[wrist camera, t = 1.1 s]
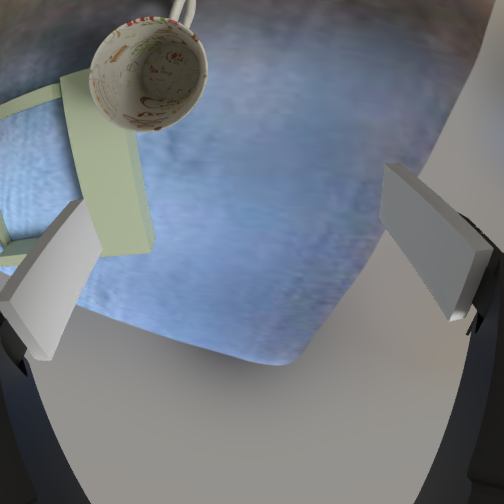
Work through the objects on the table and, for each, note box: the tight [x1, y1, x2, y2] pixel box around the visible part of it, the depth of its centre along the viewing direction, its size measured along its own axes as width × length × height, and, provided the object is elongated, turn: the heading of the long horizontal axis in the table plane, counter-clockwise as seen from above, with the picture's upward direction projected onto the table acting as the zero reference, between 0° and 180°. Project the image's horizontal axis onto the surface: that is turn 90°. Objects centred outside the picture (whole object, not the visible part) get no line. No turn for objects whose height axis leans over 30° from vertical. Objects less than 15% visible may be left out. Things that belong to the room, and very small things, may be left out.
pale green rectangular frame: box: [0, 68, 156, 267], centre depth 28 cm, size 20×22×4 cm
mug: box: [89, 0, 208, 133], centre depth 21 cm, size 8×13×10 cm, turn 163°
